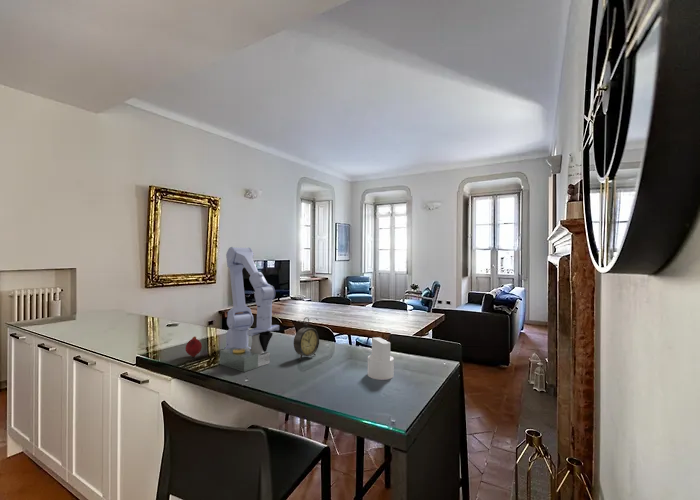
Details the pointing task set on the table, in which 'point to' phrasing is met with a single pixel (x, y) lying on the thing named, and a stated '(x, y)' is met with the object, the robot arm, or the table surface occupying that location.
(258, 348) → the flask
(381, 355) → the base with upright slab
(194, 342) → the onion
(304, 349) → the alarm clock
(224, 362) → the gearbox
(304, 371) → the table surface
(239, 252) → the robot arm
